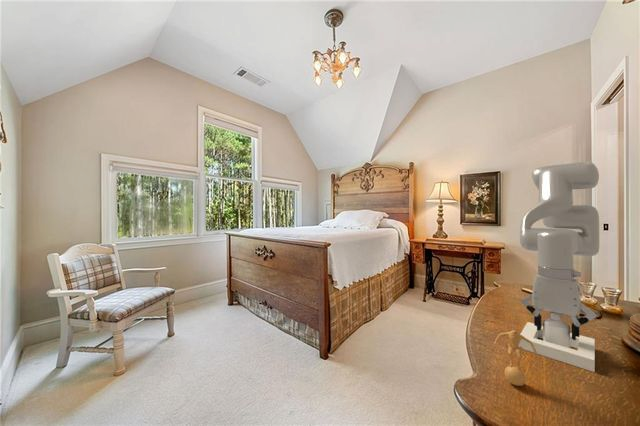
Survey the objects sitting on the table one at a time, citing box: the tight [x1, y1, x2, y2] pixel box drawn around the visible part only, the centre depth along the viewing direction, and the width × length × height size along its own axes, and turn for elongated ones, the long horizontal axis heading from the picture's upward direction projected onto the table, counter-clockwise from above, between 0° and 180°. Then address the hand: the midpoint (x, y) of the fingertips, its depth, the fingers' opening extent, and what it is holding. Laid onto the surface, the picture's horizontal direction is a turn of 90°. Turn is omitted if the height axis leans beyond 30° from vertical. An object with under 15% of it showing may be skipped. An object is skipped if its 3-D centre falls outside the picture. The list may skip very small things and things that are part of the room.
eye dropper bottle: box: [542, 311, 571, 349], centre depth 71 cm, size 4×6×12 cm
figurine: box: [493, 329, 539, 387], centre depth 58 cm, size 8×6×12 cm
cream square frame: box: [519, 321, 596, 373], centre depth 71 cm, size 15×15×3 cm
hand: (555, 332), depth 71 cm, fingers open, 6 cm apart
